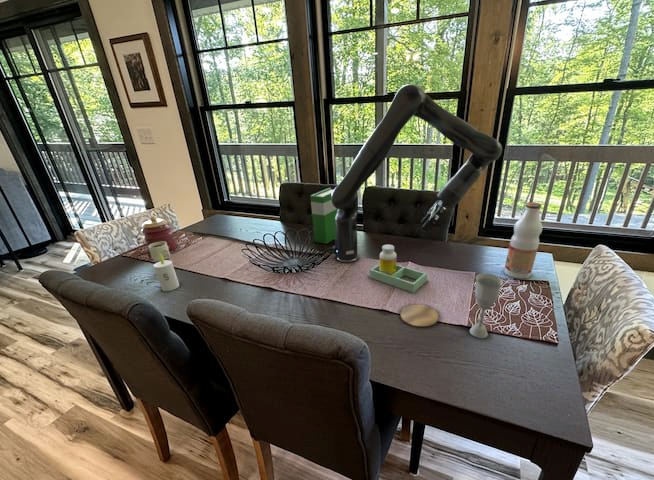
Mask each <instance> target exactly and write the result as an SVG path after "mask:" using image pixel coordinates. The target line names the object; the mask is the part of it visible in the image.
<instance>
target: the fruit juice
mask: <svg viewBox="0 0 654 480" xmlns="http://www.w3.org/2000/svg"><path fill="white" fill-rule="evenodd" d="M524 208H525V210H524V212H523V214H522V215H521V217H520V218H519V219H517V221H516V222H515V223H514V226H513V235H512V236H511V238H510V241H509V246H508V252H507V256H506V261H505V265H504V270H503V271H504V274H505V275H507V276H508V277H510V278H513V279H520V280H524V279H528V278H530V277H531V275H532V272H533V269H534V264H535V261H536V257H537V253H538V249H539V246H540V235H541V234H542V232H543V228H544V227H543V224H542V221H541V218H540V210H541V209H542V203H539V202H535V201H534V202H531V201H530V202H526V203H525V205H524Z"/></svg>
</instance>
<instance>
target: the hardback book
mask: <svg viewBox="0 0 654 480" xmlns="http://www.w3.org/2000/svg"><path fill="white" fill-rule="evenodd" d="M333 190H334V189H332V187H328V188H325V189H323V190H320V191H318V192H316V193H313V194H311V195H309V197H310V206H311V208H310V209H311V219H312V229H313V240H314V241H313V242H314V243H318V244H319V243H320V244H325V245H327V244H329V243H330V242H332V241H333V240H335V238H336V225H335V216H336V214H337V211H338V209H337V208H335V207H334V206H333V204H332V202H331V195H332V192H333Z"/></svg>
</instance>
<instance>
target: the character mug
mask: <svg viewBox="0 0 654 480" xmlns="http://www.w3.org/2000/svg"><path fill="white" fill-rule="evenodd" d="M148 248H149V250H148V252H149V251H150V252H149V254H150V256H151V260H153V261H154V262H155V263H157V262H160V257H159V252H160V253H161V254H162V256H163V258H164V260H170V261H171V259H170V257H171V251H170V252H169V249H168V246H167V243H166V242H156V243H152V244H150V245H149V246H147V249H148Z"/></svg>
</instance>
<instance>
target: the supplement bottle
mask: <svg viewBox="0 0 654 480" xmlns="http://www.w3.org/2000/svg"><path fill="white" fill-rule="evenodd" d="M381 250H382V251H381V252H380V253H379V263H378V264H379V272H381V273H384V274H387V275H390V276H391V275H393V274H394V273H396V264H397V256H398V255H397V252H395V246H394V245H393V244H384V245H382V246H381Z"/></svg>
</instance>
